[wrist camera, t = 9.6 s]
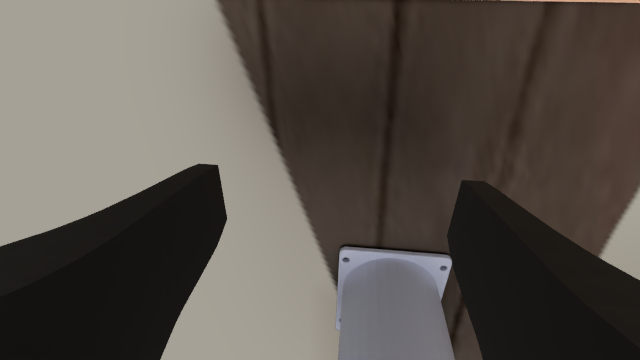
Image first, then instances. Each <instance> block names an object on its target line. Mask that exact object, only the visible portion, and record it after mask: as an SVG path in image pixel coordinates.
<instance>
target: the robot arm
mask: <svg viewBox="0 0 640 360" xmlns="http://www.w3.org/2000/svg"><path fill="white" fill-rule="evenodd" d="M226 220H227V215H226V209H225V204H224V198H223V192H222V187H221V181H220V175H219V169H218V165H209V164H197V165H195V166H192V167H189V168H187V169H185V170H183V171H181V172H179V173H177V174H175V175H173V176H171V177H169V178H167V179H165V180H163V181H161V182H159V183H157V184H155V185H153V186H151V187H149V188H147V189H145V190H143V191H141V192H139V193H137V194H135V195H133V196H131V197H129V198H127V199H124V200H122V201H120V202H118V203H116V204H114V205H112V206H110V207H107V208H105V209H104V210H101V211H98V212H96V213H94V214H91V215H89V216H87V217H84V218H82V219H79V220H76V221H74V222H71V223H69V224H66V225H63V226H61V227H58V228H56V229H53V230H50V231H47V232H44V233H41V234H38V235H34V236H31V237H28V238H25V239H22V240H19V241H16V242H13V243H10V244H7V245H4V246H1V247H0V360H160V359H161V356H162V354H163V352H164V349H165V347H166V344H167V342H168V340H169V337H170V335H171V333H172V330H173V328H174V326H175V323H176V321H177V319H178V317H179V315H180V313H181V311H182V309H183V307H184V305H185V304H186V302H187V300H188V298H189V296H190V295H191V293H192V291H193V289H194V287H195V286H196V284H197V282H198V280H199V278H200V277H201V275H202V273H203V271H204V269H205V267H206V266H207V264H208V262H209V260H210V258H211V256H212V255H213V253H214V251H215V249H216V247H217V245H218V242H219V240H220V237H221V234H222V232H223V229H224V226H225V223H226ZM447 238H448V244H449V250H450V255H451V257H450V256H448V255H443V254H431V253H419V252H406V251H394V250H382V249H369V248H357V247H343V248H341V249H340V253H339V272H338V291H337V310H336V329H337V330H339V331H340V339H339V354H338V360H455V358H454V354H453V350H452V345H451V341H450V337H449V333H448V329H447V325H446V321H445V316H444V312H443V308H442V304H441V299H442V296H443V292H444V289H445V285H446V282H447V279H448V275H449V272H450V268H451V265H453V268H454V272H455V275H456V278H457V281H458V284H459V287H460V290H461V293H462V296H463V299H464V301H465V304H466V307H467V310H468V313H469V316H470V319H471V322H472V325H473V328H474V331H475V334H476V337H477V340H478V343H479V347H480V350H481V353H482V357H483V360H640V280H638V279H636V278H634V277H632V276H631V275H629V274H627V273H625V272H623V271H622V270H620V269H618V268H616V267H614V266H612V265H610V264H609V263H607V262H605V261H603V260H602V259H600V258H598V257H597V256H595V255H593V254H592V253H590V252H588V251H587V250H585V249H583V248H582V247H580V246H579V245H577V244H576V243H574V242H572V241H571V240H569V239H568V238H566V237H565V236H563V235H561V234H560V233H558V232H557V231H555V230H554V229H552V228H551V227H549V226H548V225H546V224H545V223H544V222H542V221H541V220H539V219H538V218H536V217H535V216H534V215H532V214H531V213H529V212H528V211H527V210H525V209H524V208H522V207H521V206H520V205H518V204H517V203H515V202H514V201H513V200H511V199H510V198H508V197H507V196H506V195H504V194H503V193H501V192H500V191H498V190H497V189H496V188H494V187H493V186H491V185H489V184H488V183H486V182H483V181H467V180H462V182H461V186H460V189H459V193H458V197H457V201H456V204H455V208H454V212H453V215H452V219H451V223H450V227H449V230H448V234H447ZM345 257H346V258H348V259H345ZM441 266H444V267H441Z"/></svg>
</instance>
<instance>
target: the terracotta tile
mask: <svg viewBox="0 0 640 360" xmlns="http://www.w3.org/2000/svg"><path fill="white" fill-rule="evenodd" d="M503 1H565V2H627V3H640V0H503Z"/></svg>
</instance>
